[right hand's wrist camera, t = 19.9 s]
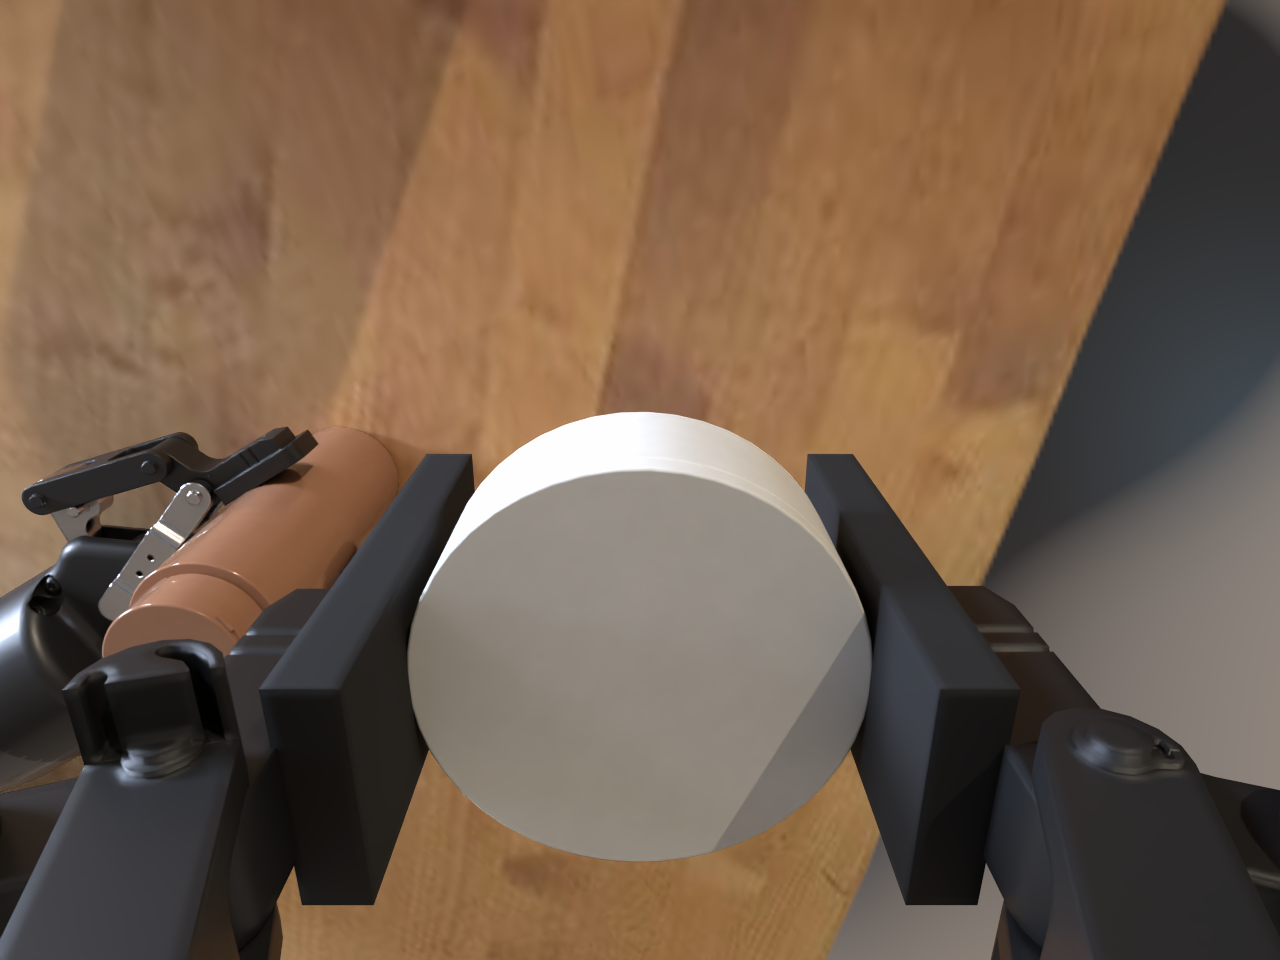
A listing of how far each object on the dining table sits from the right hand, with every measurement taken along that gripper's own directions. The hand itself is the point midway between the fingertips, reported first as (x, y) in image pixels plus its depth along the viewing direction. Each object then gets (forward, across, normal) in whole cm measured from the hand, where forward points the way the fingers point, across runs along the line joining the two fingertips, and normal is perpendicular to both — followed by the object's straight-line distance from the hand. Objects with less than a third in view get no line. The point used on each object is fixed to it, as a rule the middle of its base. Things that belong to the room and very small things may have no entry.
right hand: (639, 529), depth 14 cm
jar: (+23, +14, +8) cm, 28 cm away
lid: (-4, 0, 0) cm, 4 cm away
